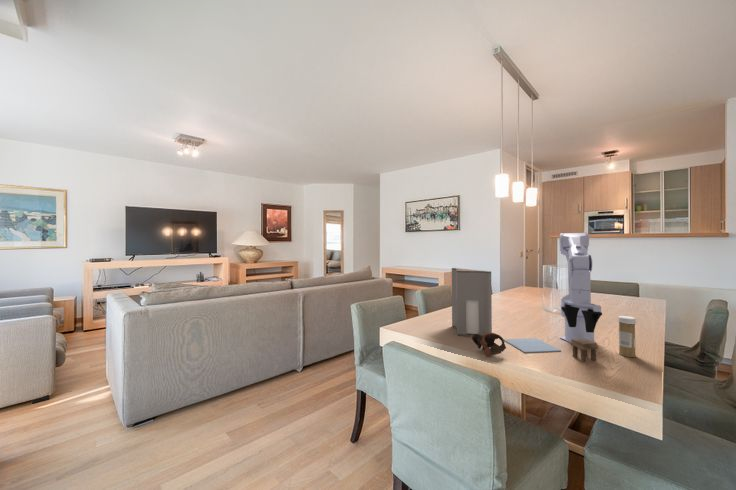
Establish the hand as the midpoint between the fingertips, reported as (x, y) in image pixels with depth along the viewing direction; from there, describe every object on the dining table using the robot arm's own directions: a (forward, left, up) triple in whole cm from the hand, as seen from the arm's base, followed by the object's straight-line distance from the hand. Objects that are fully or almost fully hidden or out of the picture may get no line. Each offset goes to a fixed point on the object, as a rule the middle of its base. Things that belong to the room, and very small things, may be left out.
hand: (580, 329), depth 102 cm
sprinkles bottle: (-18, -1, -10) cm, 20 cm away
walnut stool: (-1, 0, -10) cm, 10 cm away
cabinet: (+28, -32, -10) cm, 43 cm away
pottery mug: (+29, -9, -10) cm, 32 cm away
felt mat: (+9, -14, -10) cm, 19 cm away
